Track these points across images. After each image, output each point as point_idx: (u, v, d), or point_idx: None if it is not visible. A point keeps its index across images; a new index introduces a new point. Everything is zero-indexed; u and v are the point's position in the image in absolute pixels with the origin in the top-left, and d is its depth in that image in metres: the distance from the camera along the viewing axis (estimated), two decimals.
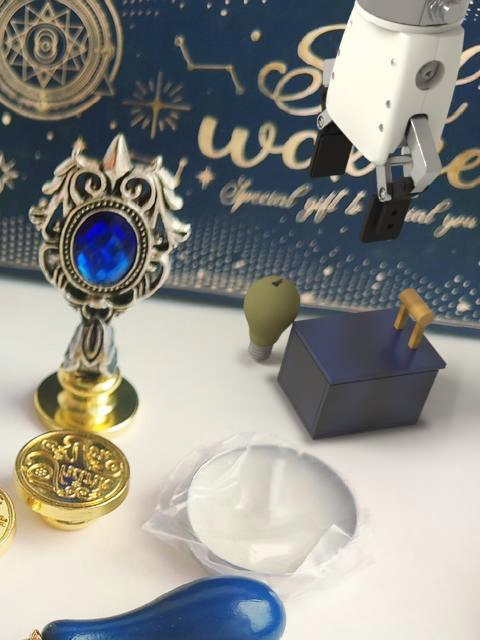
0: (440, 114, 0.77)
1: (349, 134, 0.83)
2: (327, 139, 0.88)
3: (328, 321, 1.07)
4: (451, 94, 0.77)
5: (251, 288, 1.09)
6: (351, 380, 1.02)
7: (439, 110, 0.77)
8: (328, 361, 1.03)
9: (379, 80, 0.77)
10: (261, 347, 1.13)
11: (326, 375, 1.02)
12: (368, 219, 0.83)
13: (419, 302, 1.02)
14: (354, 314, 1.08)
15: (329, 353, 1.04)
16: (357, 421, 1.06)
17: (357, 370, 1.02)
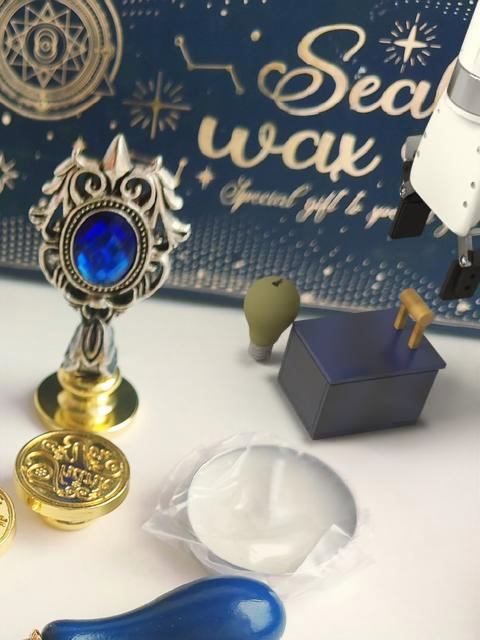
0: None
1: (433, 206, 0.94)
2: (408, 206, 1.00)
3: (328, 321, 1.07)
4: None
5: (251, 288, 1.09)
6: (351, 380, 1.02)
7: None
8: (328, 361, 1.03)
9: (465, 164, 0.89)
10: (261, 347, 1.13)
11: (326, 375, 1.02)
12: (448, 281, 0.94)
13: (419, 302, 1.02)
14: (354, 314, 1.08)
15: (329, 353, 1.04)
16: (357, 421, 1.06)
17: (357, 370, 1.02)
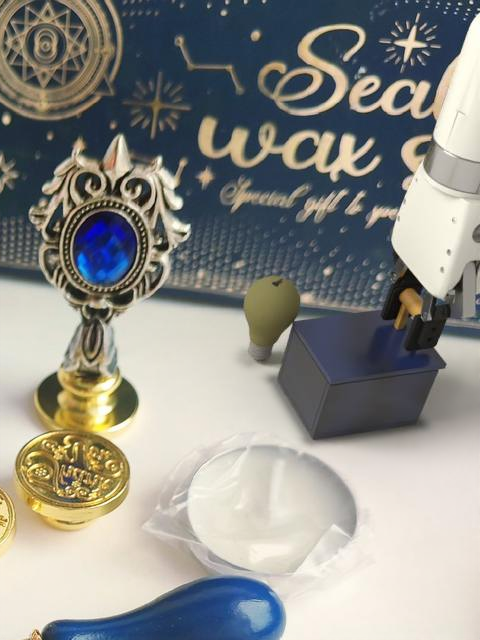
0: None
1: (413, 269, 0.99)
2: (399, 291, 1.04)
3: (328, 321, 1.07)
4: None
5: (251, 288, 1.09)
6: (351, 380, 1.02)
7: None
8: (328, 361, 1.03)
9: (441, 232, 0.93)
10: (261, 347, 1.13)
11: (326, 375, 1.02)
12: (412, 333, 1.02)
13: (419, 302, 1.02)
14: (354, 314, 1.08)
15: (329, 353, 1.04)
16: (357, 421, 1.06)
17: (357, 370, 1.02)
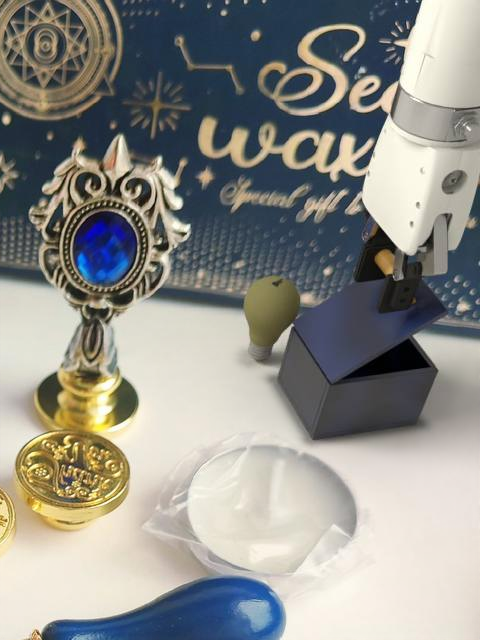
0: (463, 213, 0.89)
1: (383, 225, 0.95)
2: (371, 250, 0.99)
3: (326, 306, 1.06)
4: (473, 196, 0.88)
5: (251, 288, 1.09)
6: (351, 371, 1.01)
7: (462, 210, 0.89)
8: (326, 358, 1.03)
9: (410, 184, 0.89)
10: (261, 347, 1.13)
11: (326, 375, 1.02)
12: (384, 294, 0.97)
13: (390, 266, 0.98)
14: (351, 285, 1.05)
15: (327, 347, 1.03)
16: (357, 421, 1.06)
17: (355, 357, 1.01)
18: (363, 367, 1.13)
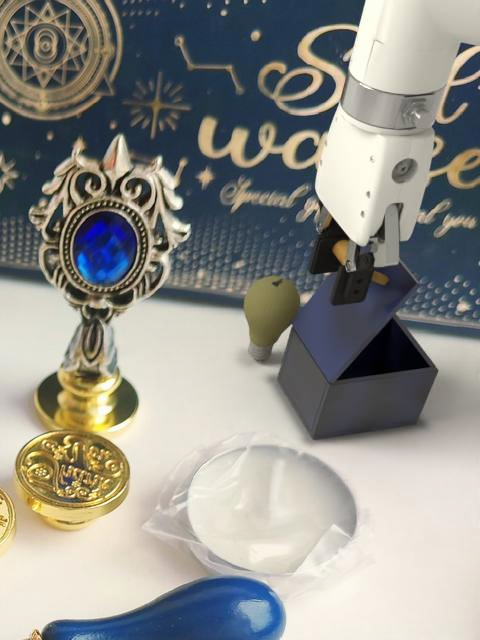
0: (415, 202, 0.87)
1: (335, 216, 0.93)
2: (325, 242, 0.97)
3: (315, 299, 1.05)
4: (424, 185, 0.87)
5: (251, 288, 1.09)
6: (346, 366, 1.00)
7: (414, 199, 0.87)
8: (322, 358, 1.02)
9: (360, 173, 0.87)
10: (261, 347, 1.13)
11: (326, 375, 1.02)
12: (337, 286, 0.95)
13: (344, 260, 0.96)
14: (333, 272, 1.03)
15: (322, 345, 1.03)
16: (357, 421, 1.06)
17: (346, 352, 1.00)
18: (363, 367, 1.13)
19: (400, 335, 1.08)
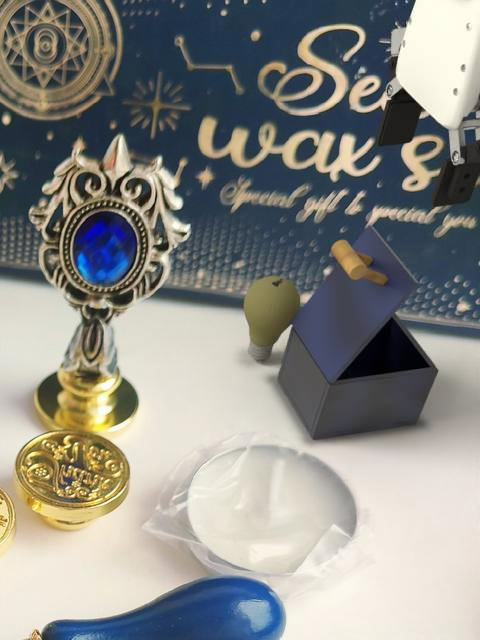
0: None
1: (421, 100, 0.85)
2: (396, 107, 0.90)
3: (315, 299, 1.05)
4: None
5: (251, 288, 1.09)
6: (346, 366, 1.00)
7: None
8: (322, 358, 1.02)
9: (454, 45, 0.79)
10: (261, 347, 1.13)
11: None
12: (440, 183, 0.85)
13: (343, 260, 0.96)
14: (333, 272, 1.03)
15: (322, 345, 1.03)
16: (357, 421, 1.06)
17: (345, 352, 1.00)
18: (363, 367, 1.13)
19: (400, 335, 1.08)
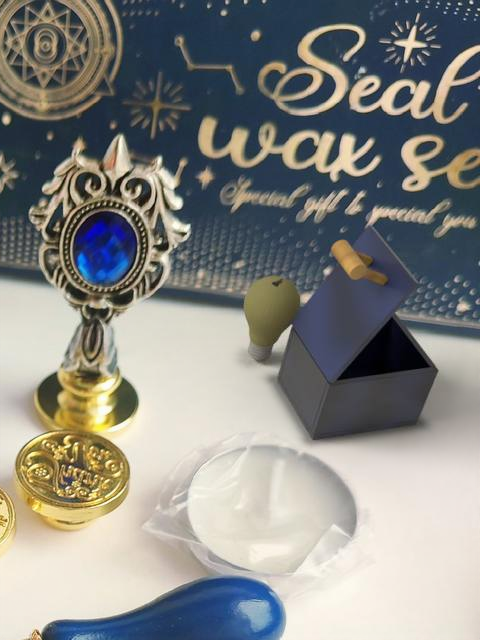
0: None
1: None
2: None
3: (315, 299, 1.05)
4: None
5: (251, 288, 1.09)
6: (346, 366, 1.00)
7: None
8: (322, 358, 1.02)
9: None
10: (261, 347, 1.13)
11: None
12: None
13: (343, 260, 0.96)
14: (333, 272, 1.03)
15: (322, 345, 1.03)
16: (357, 421, 1.06)
17: (345, 352, 1.00)
18: (363, 367, 1.13)
19: (400, 335, 1.08)
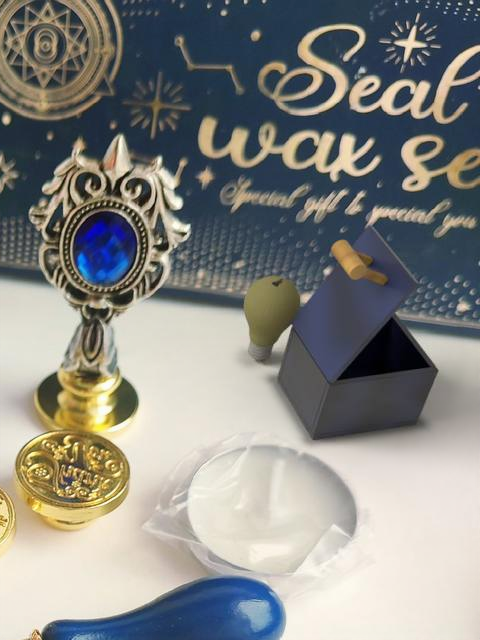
0: None
1: None
2: None
3: (315, 299, 1.05)
4: None
5: (251, 288, 1.09)
6: (346, 366, 1.00)
7: None
8: (322, 358, 1.02)
9: None
10: (261, 347, 1.13)
11: None
12: None
13: (343, 260, 0.96)
14: (333, 272, 1.03)
15: (322, 345, 1.03)
16: (357, 421, 1.06)
17: (345, 352, 1.00)
18: (363, 367, 1.13)
19: (400, 335, 1.08)
